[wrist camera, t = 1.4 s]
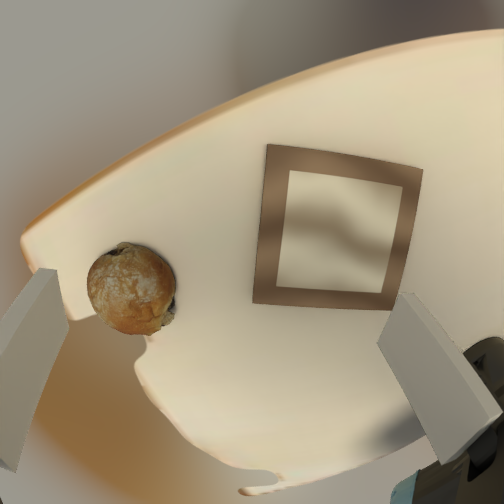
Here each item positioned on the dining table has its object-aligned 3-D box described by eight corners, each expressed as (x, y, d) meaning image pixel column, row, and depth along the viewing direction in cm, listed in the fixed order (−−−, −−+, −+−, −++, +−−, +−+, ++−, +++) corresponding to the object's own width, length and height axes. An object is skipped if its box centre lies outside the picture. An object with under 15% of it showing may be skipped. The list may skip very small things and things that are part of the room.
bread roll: (167, 232, 36) (130, 221, 28) (199, 316, 34) (168, 326, 27) (104, 266, 37) (62, 263, 30) (131, 343, 36) (92, 356, 28)
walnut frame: (387, 304, 35) (392, 310, 33) (252, 296, 34) (252, 303, 33) (416, 168, 30) (423, 169, 28) (267, 144, 29) (268, 144, 28)
